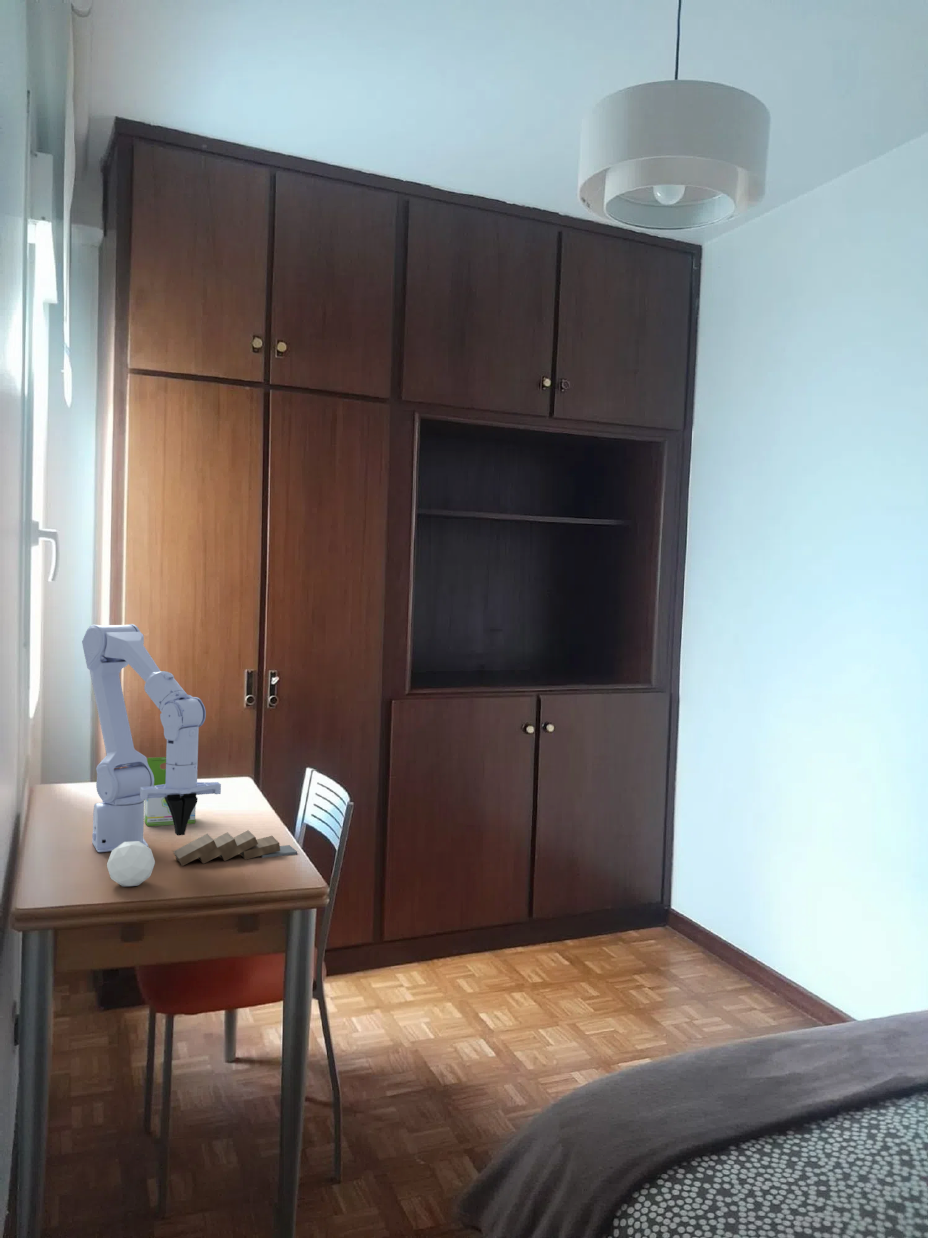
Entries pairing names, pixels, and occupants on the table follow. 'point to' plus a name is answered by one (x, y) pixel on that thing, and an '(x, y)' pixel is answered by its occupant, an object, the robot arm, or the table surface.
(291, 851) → the domino
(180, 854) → the domino
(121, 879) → the geometric ball
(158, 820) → the ink box
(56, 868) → the table surface
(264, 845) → the domino
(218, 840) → the domino
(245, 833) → the domino
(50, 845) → the table surface
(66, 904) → the table surface
